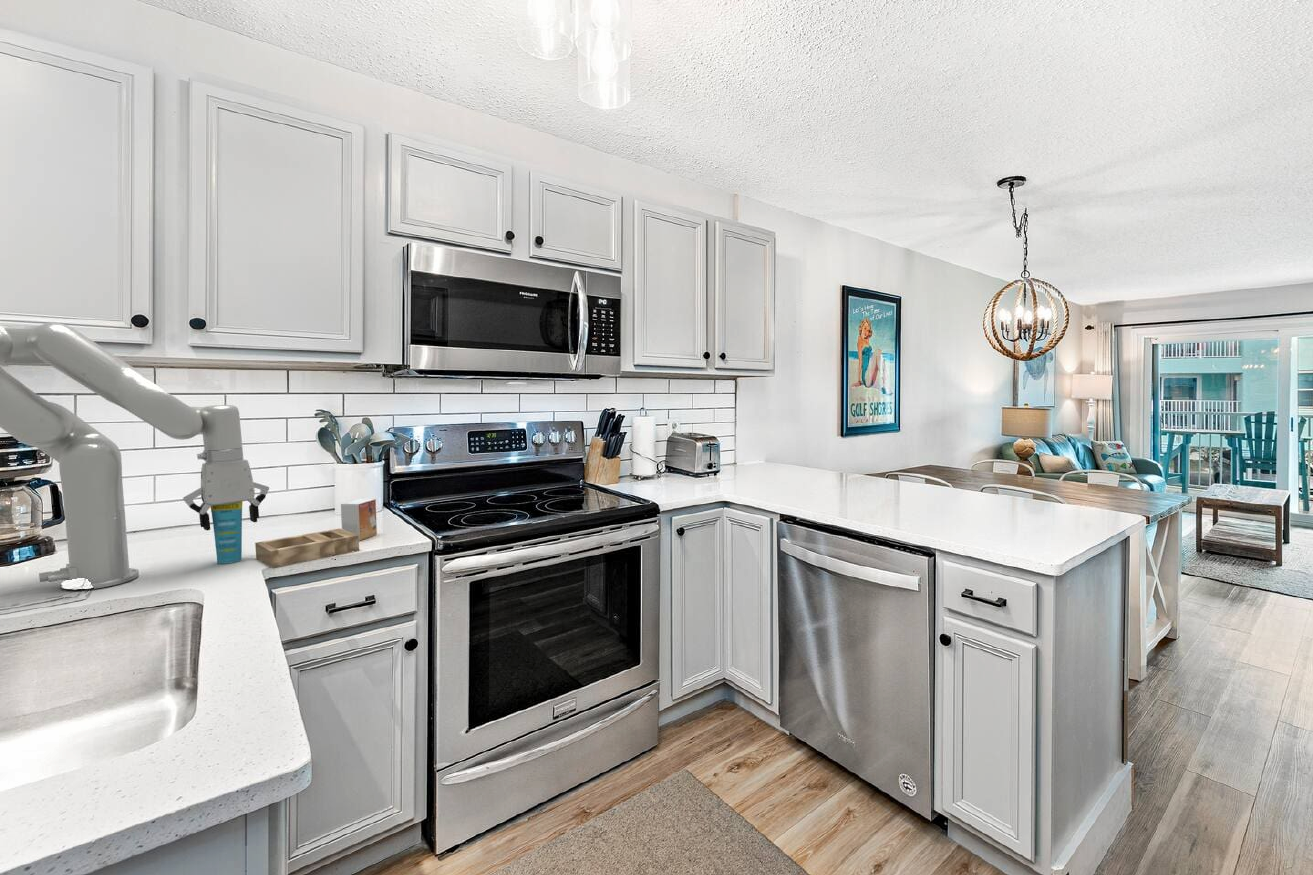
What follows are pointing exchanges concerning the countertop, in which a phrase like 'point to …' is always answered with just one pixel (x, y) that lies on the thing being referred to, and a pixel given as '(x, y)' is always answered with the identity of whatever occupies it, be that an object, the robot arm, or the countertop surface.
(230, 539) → the tube
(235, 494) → the robot arm
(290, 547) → the holder block
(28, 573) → the countertop surface
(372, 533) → the small box
